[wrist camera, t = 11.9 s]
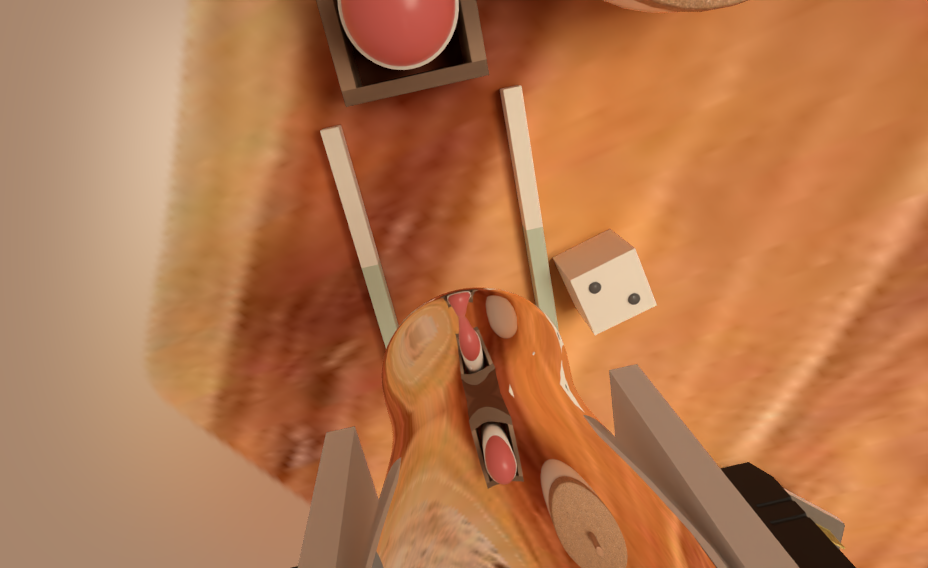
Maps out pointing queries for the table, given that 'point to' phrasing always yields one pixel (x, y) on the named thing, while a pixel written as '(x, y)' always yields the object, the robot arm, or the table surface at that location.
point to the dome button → (399, 29)
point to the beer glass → (510, 454)
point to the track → (526, 199)
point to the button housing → (358, 94)
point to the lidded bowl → (673, 5)
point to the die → (605, 281)
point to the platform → (822, 519)
